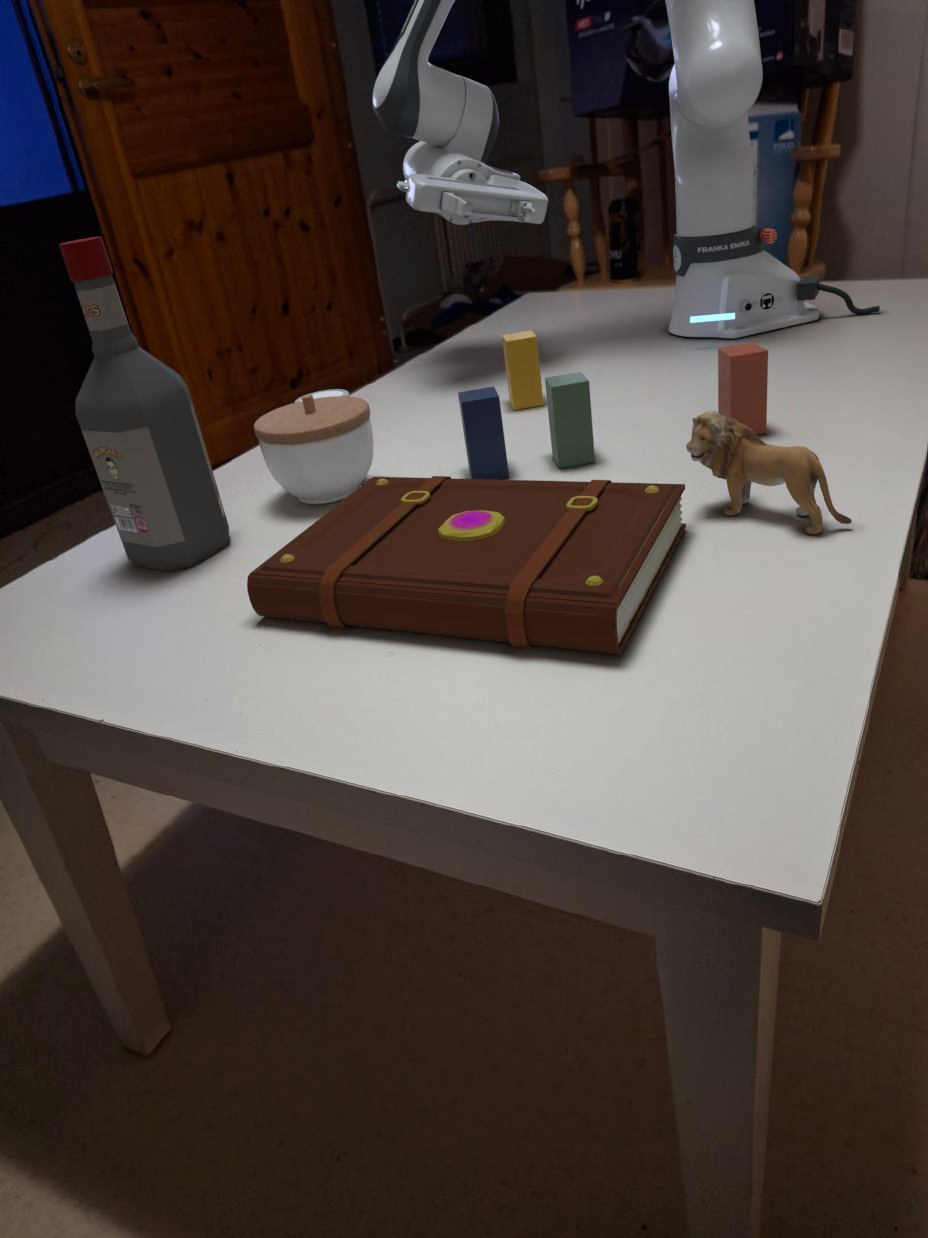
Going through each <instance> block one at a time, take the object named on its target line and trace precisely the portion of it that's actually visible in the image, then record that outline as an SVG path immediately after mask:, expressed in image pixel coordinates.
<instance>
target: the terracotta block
mask: <svg viewBox="0 0 928 1238" xmlns="http://www.w3.org/2000/svg"><path fill="white" fill-rule="evenodd" d="M768 372H769V350H768V349H767V348H765V347H764V346H761V345H759V344H758V343H756V342H748V343H742V344H736V345H730V346H724V347H718V348H717V384H718V385H717V407H718V409H717V410H718V411H717V413H724V415H728V416H730V417H733V418H735V419H737V420H738V422H739V423H741V424H745V425H746V426H747V427H749V428H750V429H752V430H753V431H754V432H755V433H756V434H757V436H758V435H763V434H764V435H765V434H767V425H768V424H767V420H768V417H767V416H768V382H769V381H768V380H769V379H768V377H769V375H768V374H769V373H768Z"/></svg>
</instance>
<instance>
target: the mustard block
mask: <svg viewBox="0 0 928 1238" xmlns="http://www.w3.org/2000/svg"><path fill="white" fill-rule="evenodd" d="M501 340H502V349H503V356H504V357H503V359H504V364H505V365H504V366H505V373H506V374H505V375H506V381H507V383H506V384H507V390H508V398H509V403H510V405H511V407H512V409H513V410H514V411H517V410H524V409H529V408H530V409H531V408H536V407H541V406H545V405H544V393H543V384H542V374H541V365H540V354H539V344H538V337H537V335H536V333H535V332H534V331H533V330H530V329H529V330H525V331H518V332H512V333H507V334H502V335H501Z"/></svg>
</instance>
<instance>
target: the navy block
mask: <svg viewBox="0 0 928 1238" xmlns="http://www.w3.org/2000/svg"><path fill="white" fill-rule="evenodd" d="M457 396H458V397H457V398H458V403H459V410H460V416H461V423H462V430H463V431H462V432H463V437H464V444H465V451H466V457H467V458H466V459H467V464H468V470H469V474H470V479H494V480H502V479H505V478H510V472H509V464H508V455H507V448H506V441H505V440H506V439H505V433H504V423H503V416H502V407H501V400H500V394H499V393H498V391H497V388H496V387H495V386H488V387H482V388H475V389H469V390H464V391H458V392H457Z"/></svg>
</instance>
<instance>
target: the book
mask: <svg viewBox="0 0 928 1238" xmlns="http://www.w3.org/2000/svg"><path fill="white" fill-rule="evenodd" d="M685 490H686V483H659V482H658V483H654V482H653V483H652V482H650V483H649V482H615V481H613V482H612V480H610V479H591V480H590V481H574V480H573V481H571V480H570V481H569V480H534V479H533V480H531V479H530V480H529V479H528V480H527V479H495V480H494V479H472V478H452V476H448V475H432V476H431V477H409V476H407V477H406V476H372V477H371V478H370V479H368V480H367V481H366V482H364V483H363V484H362V485H360V487H359V488H358V489H357V490H356V491H354V492H353V493H352V494H351V495H349V496H348V497H347V498H345V499H342V500H341V501H340V502H339V503H337V504H336V505H334V507H332V508H331V509H330V510H329V511H327V512H326V513H325V514H323V515H322V516H321V517H319V518H318V519H317V520H316V521H315V522H313V523H312V524H311V525H310V526H308V527H307V528H306V529H304V530H303V531H302V532H301V533H299V534H298V535H296V536H295V537H294V538H293V539H291V540H290V541H289V542H288V543H287V544H285V545H284V546H283V547H281V548H280V549H278V551H276V552H275V553H274V554H272V555H271V556H270V557H269V558H267V559H266V560H265V561H264V562H262V563H261V564H259V566H257V567H256V568H254V569H253V570H252V571H251V572H249V574H248V575H247V581H246V587H247V588H246V589H247V590H246V591H247V595H248V599H249V602H250V605H251V607H252V610H253V611H254V613H256V614H257V615H258V616H260V617H269V618H278V619H287V620H294V621H295V620H296V621H305V622H316V623H323V624H324V623H325V624H327V625H328V626H329V627H331V628H337V629H338V628H339V629H346V628H347V627H349V626H354V627H361V628H362V627H363V628H372V629H381V630H389V631H390V630H391V631H399V632H409V633H418V634H426V635H437V636H446V637H453V638H454V637H455V638H456V637H457V638H466V639H474V640H484V641H492V642H501V643H510V645H511V646H512V647H514V648H523V649H531V648H532V647H533V646H539V647H548V648H558V649H568V650H577V651H586V652H594V653H595V652H596V653H604V654H605V653H606V654H614V655H620V654H622V652H623V650H624V648H625V646H626V645H627V642H628V641H629V639H630V636H631V635H632V633H633V631H634V629H635V628H636V625H637V623H638V621H639V619H640V617H641V615H642V613H643V611H644V609H645V608H646V606H647V604H648V602H649V600H650V598H651V596H652V594H653V592H654V590H655V588H656V586H657V584H658V582H659V580H660V578H661V576H662V575H663V573H664V571H665V568H666V567H667V565H668V562H669V561H670V560H671V557H672V555H673V554H674V551H675V550H676V548H677V545H678V544H679V541H680V540H681V538H682V536H683V534H684V533H685V530H686V529H687V523H682V521H683V517H682V514H683V511H682V510H681V508H682V507H683V505H682V504H681V501H682V500H683V497H682V495H683V494H684V492H685Z"/></svg>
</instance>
